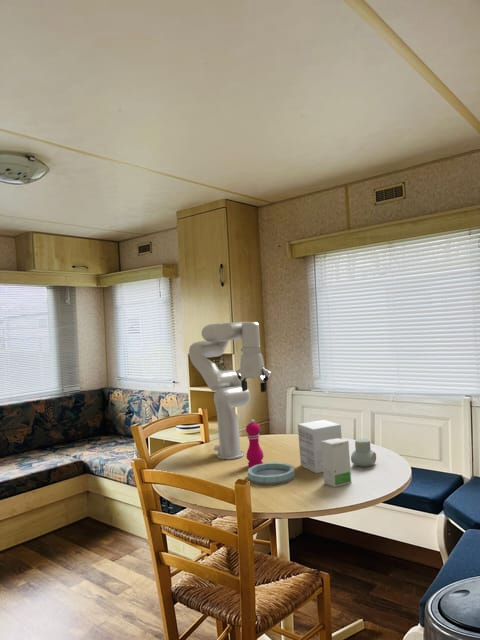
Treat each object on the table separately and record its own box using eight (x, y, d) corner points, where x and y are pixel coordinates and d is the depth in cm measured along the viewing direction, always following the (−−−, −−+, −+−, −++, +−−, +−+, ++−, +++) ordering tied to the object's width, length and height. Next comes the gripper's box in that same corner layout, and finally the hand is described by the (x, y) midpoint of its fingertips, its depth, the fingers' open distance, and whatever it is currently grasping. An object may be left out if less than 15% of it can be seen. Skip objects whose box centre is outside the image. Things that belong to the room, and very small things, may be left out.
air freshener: (358, 460, 202) (356, 436, 202) (377, 462, 198) (375, 437, 198) (350, 468, 192) (348, 443, 192) (370, 470, 188) (368, 444, 188)
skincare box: (334, 488, 171) (331, 444, 171) (322, 483, 177) (319, 441, 177) (352, 483, 175) (349, 440, 175) (340, 478, 181) (337, 437, 181)
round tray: (239, 481, 186) (238, 473, 186) (264, 468, 200) (263, 460, 200) (279, 488, 175) (279, 479, 175) (302, 473, 190) (302, 465, 190)
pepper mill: (246, 464, 207) (243, 418, 207) (263, 463, 208) (259, 417, 208) (248, 469, 200) (244, 421, 200) (265, 468, 201) (261, 420, 201)
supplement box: (327, 460, 206) (324, 419, 206) (344, 467, 193) (341, 424, 194) (299, 465, 201) (296, 423, 201) (315, 473, 189) (312, 429, 189)
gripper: (230, 352, 206) (232, 391, 206) (263, 351, 196) (266, 393, 196) (240, 350, 212) (242, 389, 212) (273, 350, 202) (276, 390, 202)
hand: (254, 391), depth 204 cm, fingers open, 9 cm apart
